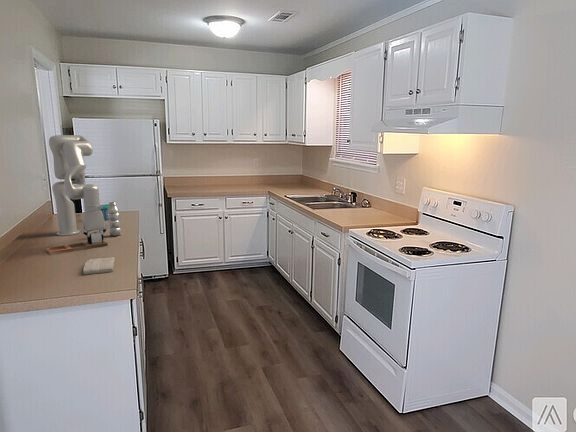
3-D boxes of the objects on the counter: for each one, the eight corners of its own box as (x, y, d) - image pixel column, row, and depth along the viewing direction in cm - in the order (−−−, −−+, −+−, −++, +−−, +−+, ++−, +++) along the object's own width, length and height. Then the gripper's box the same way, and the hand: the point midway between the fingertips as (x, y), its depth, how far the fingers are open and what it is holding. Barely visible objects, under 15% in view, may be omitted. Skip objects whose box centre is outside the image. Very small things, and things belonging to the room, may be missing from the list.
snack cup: (99, 222, 279) (98, 207, 277) (92, 220, 285) (91, 206, 284) (121, 218, 291) (119, 204, 289) (113, 217, 297) (112, 203, 295)
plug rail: (46, 250, 207) (45, 247, 207) (101, 241, 224) (101, 239, 224) (50, 255, 199) (49, 252, 199) (107, 245, 216) (107, 243, 216)
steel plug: (89, 245, 218) (88, 232, 216) (99, 243, 221) (98, 230, 219) (92, 246, 214) (91, 233, 213) (102, 245, 217) (101, 232, 216)
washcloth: (115, 261, 189) (115, 255, 189) (114, 273, 173) (113, 266, 172) (87, 264, 185) (86, 257, 185) (83, 276, 169) (82, 269, 168)
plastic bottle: (117, 237, 235) (114, 203, 231) (107, 236, 236) (103, 202, 233) (124, 234, 241) (121, 201, 238) (113, 234, 243) (110, 201, 239)
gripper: (107, 206, 222) (110, 238, 225) (73, 210, 211) (76, 243, 215) (111, 208, 216) (114, 241, 220) (76, 211, 205) (80, 246, 209)
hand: (95, 242), depth 217 cm, fingers closed on steel plug, 5 cm apart
